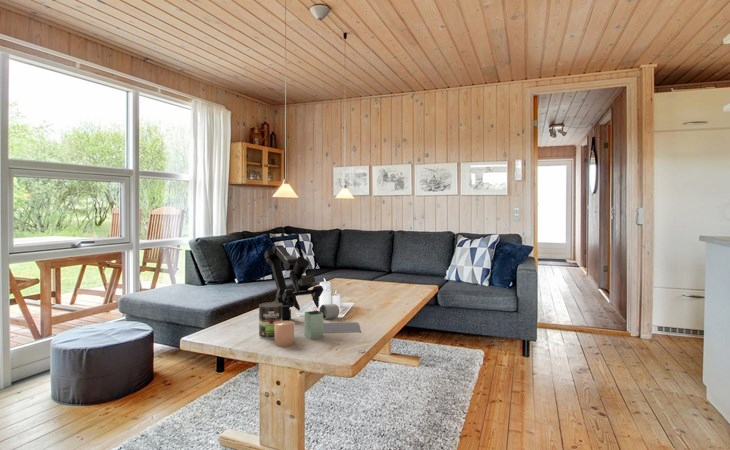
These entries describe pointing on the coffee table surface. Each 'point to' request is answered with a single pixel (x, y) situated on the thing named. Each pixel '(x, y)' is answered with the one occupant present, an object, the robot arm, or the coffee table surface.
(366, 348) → the coffee table surface
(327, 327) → the mat
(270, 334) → the coffee can
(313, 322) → the tin
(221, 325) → the coffee table surface
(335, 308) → the ceramic mug
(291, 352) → the coffee table surface
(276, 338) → the pink rounded cylinder
